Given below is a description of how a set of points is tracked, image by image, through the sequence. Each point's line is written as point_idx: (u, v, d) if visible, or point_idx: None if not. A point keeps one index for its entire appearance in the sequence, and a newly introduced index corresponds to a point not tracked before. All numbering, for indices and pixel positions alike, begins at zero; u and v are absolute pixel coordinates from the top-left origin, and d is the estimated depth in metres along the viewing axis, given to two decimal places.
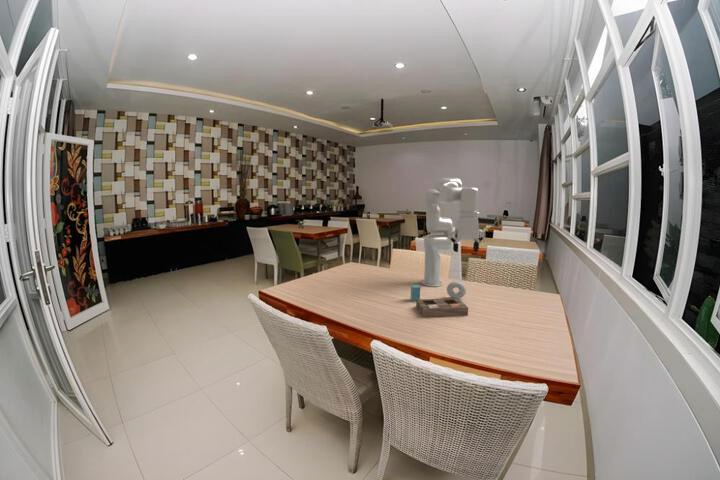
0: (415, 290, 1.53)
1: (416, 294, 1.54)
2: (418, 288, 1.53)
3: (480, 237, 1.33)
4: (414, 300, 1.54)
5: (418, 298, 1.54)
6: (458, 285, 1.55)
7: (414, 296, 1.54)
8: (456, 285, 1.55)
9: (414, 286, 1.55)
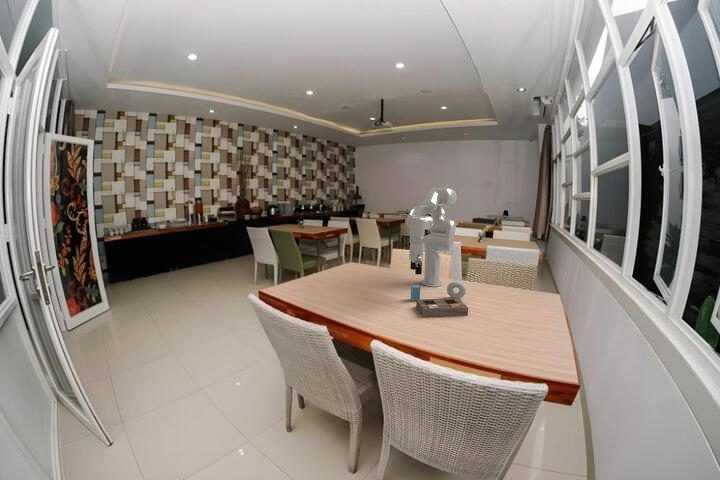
0: (415, 290, 1.53)
1: (416, 294, 1.54)
2: (418, 288, 1.53)
3: None
4: (414, 300, 1.54)
5: (418, 298, 1.54)
6: (458, 285, 1.55)
7: (414, 296, 1.54)
8: (456, 285, 1.55)
9: (414, 286, 1.55)
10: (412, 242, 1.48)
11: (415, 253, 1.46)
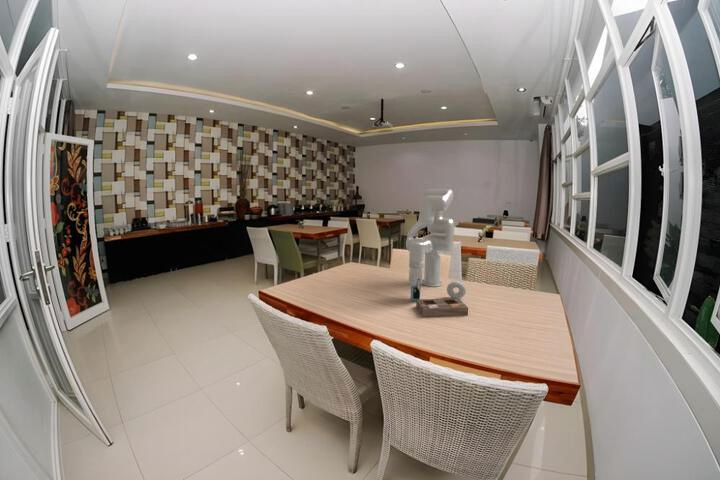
0: None
1: None
2: None
3: None
4: (414, 300, 1.54)
5: None
6: (458, 285, 1.55)
7: None
8: (456, 285, 1.55)
9: None
10: (411, 267, 1.51)
11: (414, 278, 1.49)
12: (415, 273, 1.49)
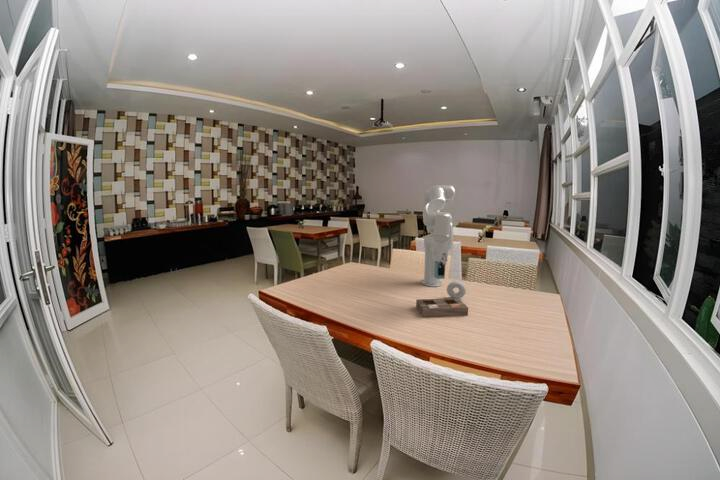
0: None
1: None
2: None
3: None
4: (438, 277, 1.43)
5: (443, 275, 1.43)
6: (458, 285, 1.55)
7: None
8: (456, 285, 1.55)
9: (438, 262, 1.44)
10: (436, 240, 1.40)
11: (440, 252, 1.38)
12: (440, 247, 1.38)
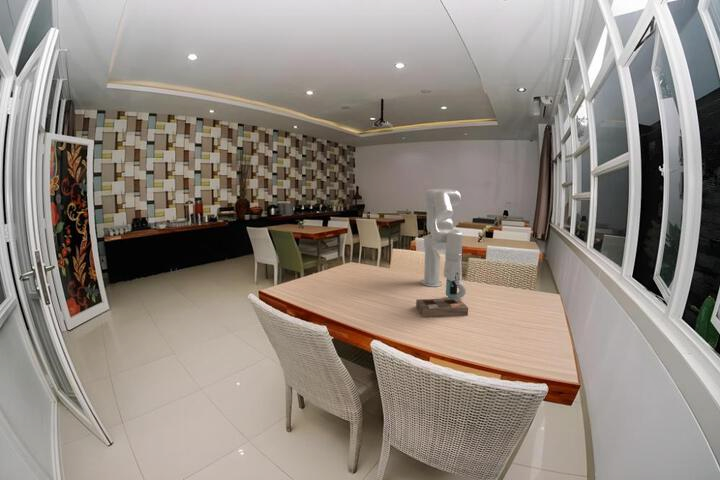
0: None
1: None
2: None
3: None
4: (450, 296, 1.41)
5: (455, 294, 1.41)
6: (458, 285, 1.55)
7: None
8: None
9: None
10: (449, 259, 1.37)
11: (452, 271, 1.36)
12: (453, 266, 1.35)
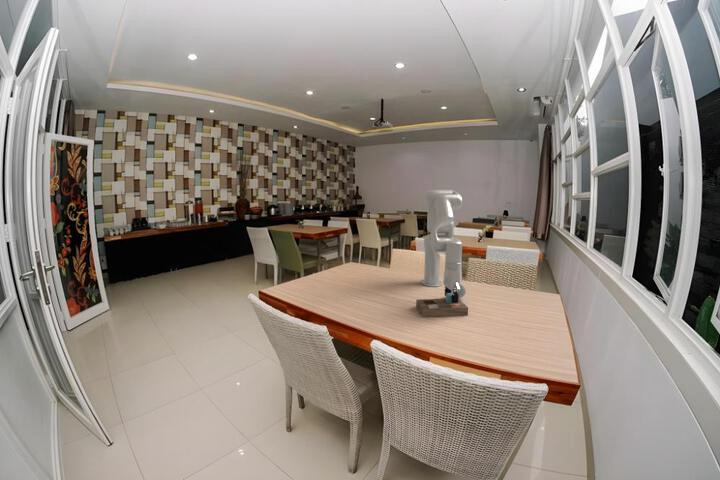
0: (451, 299, 1.41)
1: (452, 303, 1.42)
2: None
3: None
4: None
5: None
6: None
7: None
8: None
9: (450, 294, 1.43)
10: (448, 268, 1.38)
11: (452, 280, 1.36)
12: (453, 275, 1.36)
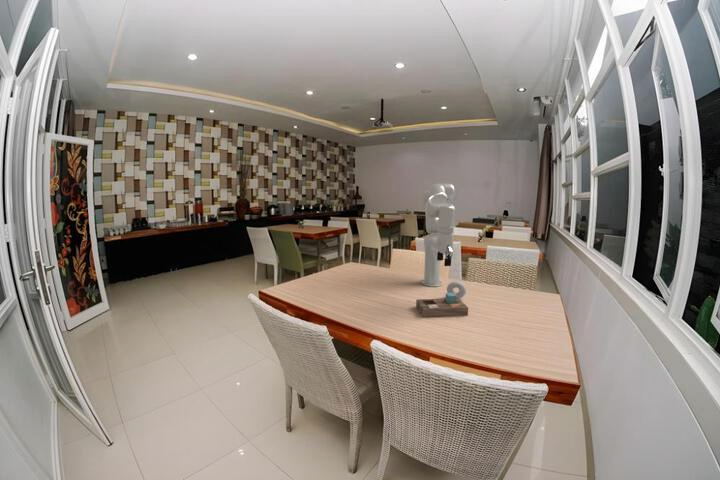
0: (451, 299, 1.41)
1: (452, 303, 1.42)
2: (454, 296, 1.41)
3: None
4: None
5: None
6: (458, 285, 1.55)
7: None
8: (456, 285, 1.55)
9: (450, 294, 1.43)
10: (441, 232, 1.40)
11: (445, 244, 1.39)
12: (445, 239, 1.39)
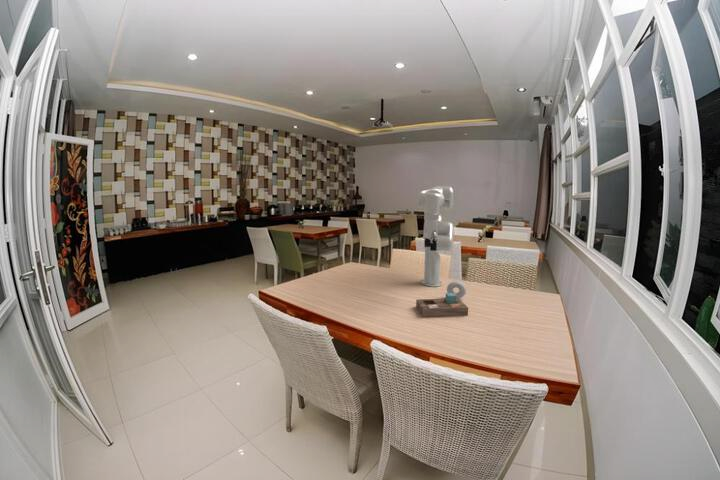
0: (451, 299, 1.41)
1: (452, 303, 1.42)
2: (454, 296, 1.41)
3: None
4: None
5: None
6: (458, 285, 1.55)
7: None
8: (456, 285, 1.55)
9: (450, 294, 1.43)
10: (427, 218, 1.49)
11: (430, 229, 1.47)
12: (431, 224, 1.47)
